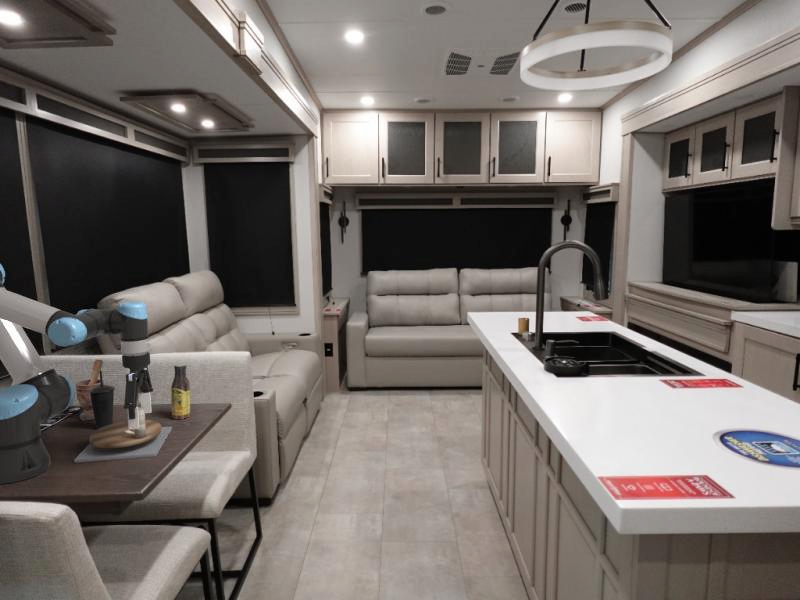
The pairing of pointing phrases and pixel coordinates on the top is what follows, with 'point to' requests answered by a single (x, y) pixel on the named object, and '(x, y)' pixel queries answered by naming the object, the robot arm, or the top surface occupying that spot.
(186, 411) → the sauce bottle
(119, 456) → the wheel stand
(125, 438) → the handwheel
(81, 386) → the mortar and pestle
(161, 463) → the top surface
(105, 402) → the drinking cup
